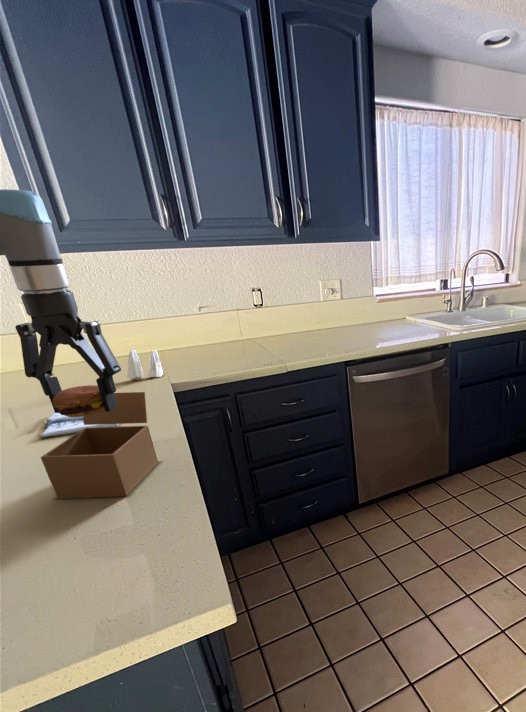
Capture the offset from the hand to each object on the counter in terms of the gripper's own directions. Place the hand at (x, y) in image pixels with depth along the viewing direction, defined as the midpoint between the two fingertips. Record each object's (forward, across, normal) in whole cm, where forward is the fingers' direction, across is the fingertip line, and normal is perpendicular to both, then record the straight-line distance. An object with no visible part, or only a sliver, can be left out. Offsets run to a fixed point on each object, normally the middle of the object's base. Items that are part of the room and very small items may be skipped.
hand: (86, 409), depth 84 cm
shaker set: (+17, +29, -75) cm, 83 cm away
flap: (+3, +1, -10) cm, 10 cm away
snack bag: (+17, +27, -35) cm, 48 cm away
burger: (0, 0, 0) cm, 0 cm away
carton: (+17, +1, -1) cm, 17 cm away
